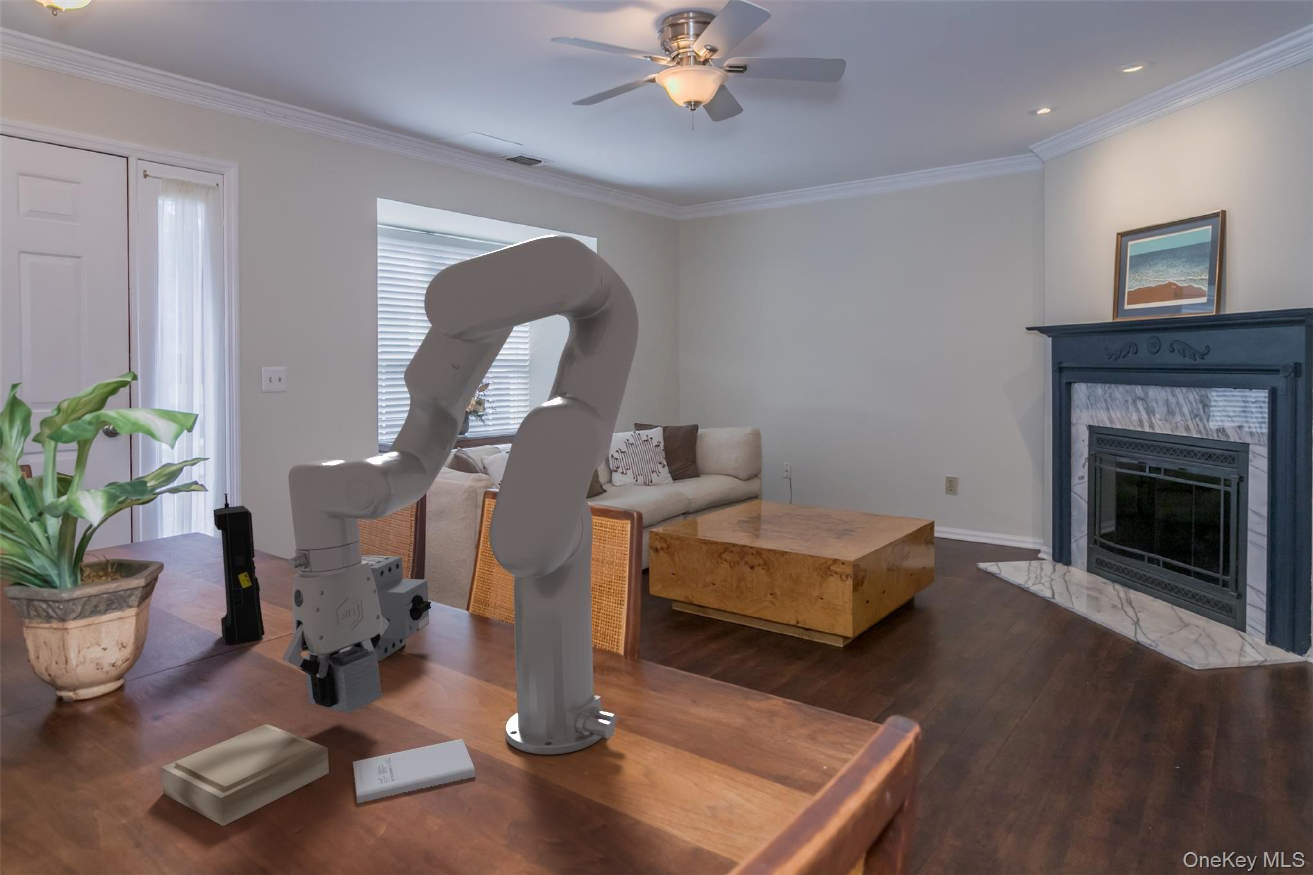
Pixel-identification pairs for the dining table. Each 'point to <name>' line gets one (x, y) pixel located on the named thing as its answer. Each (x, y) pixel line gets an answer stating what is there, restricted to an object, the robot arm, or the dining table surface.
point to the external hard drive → (412, 770)
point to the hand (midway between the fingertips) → (344, 694)
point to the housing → (351, 679)
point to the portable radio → (239, 575)
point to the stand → (244, 773)
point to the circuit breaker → (398, 602)
